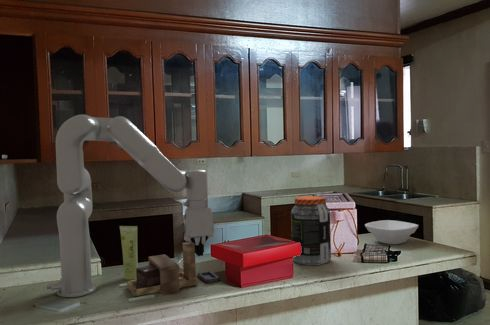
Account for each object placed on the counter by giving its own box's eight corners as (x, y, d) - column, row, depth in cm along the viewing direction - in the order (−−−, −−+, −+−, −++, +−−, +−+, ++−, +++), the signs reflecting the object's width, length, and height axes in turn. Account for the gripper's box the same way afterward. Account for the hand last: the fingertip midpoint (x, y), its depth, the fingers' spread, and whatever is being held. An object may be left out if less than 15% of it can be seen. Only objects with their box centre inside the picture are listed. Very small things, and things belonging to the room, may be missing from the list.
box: (151, 284, 149) (150, 264, 149) (161, 288, 145) (160, 267, 144) (136, 289, 145) (135, 268, 144) (146, 293, 140) (145, 271, 140)
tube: (123, 281, 154) (121, 227, 153) (121, 277, 158) (119, 225, 157) (139, 278, 156) (137, 226, 155) (137, 275, 161) (134, 223, 160)
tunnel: (161, 295, 138) (160, 268, 138) (149, 281, 153) (148, 256, 152) (179, 292, 141) (178, 265, 140) (165, 278, 155) (164, 254, 155)
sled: (133, 296, 137) (132, 256, 136) (127, 286, 146) (125, 249, 146) (198, 284, 146) (197, 246, 146) (188, 275, 156) (186, 240, 156)
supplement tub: (339, 263, 168) (337, 198, 167) (304, 268, 163) (302, 201, 161) (318, 253, 183) (316, 194, 182) (285, 258, 177) (283, 196, 176)
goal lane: (129, 302, 133) (129, 300, 133) (119, 286, 148) (119, 284, 148) (154, 297, 136) (154, 295, 136) (142, 282, 152) (142, 280, 152)
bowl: (359, 242, 202) (359, 224, 202) (387, 235, 213) (387, 219, 213) (395, 250, 185) (395, 231, 184) (424, 243, 196) (424, 225, 196)
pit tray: (206, 283, 149) (206, 279, 149) (197, 276, 157) (197, 273, 157) (219, 280, 151) (219, 277, 151) (210, 274, 159) (210, 270, 159)
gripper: (180, 207, 145) (182, 260, 145) (221, 203, 151) (222, 254, 152) (174, 205, 151) (176, 255, 152) (213, 201, 158) (214, 250, 159)
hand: (199, 255), depth 152 cm, fingers closed
